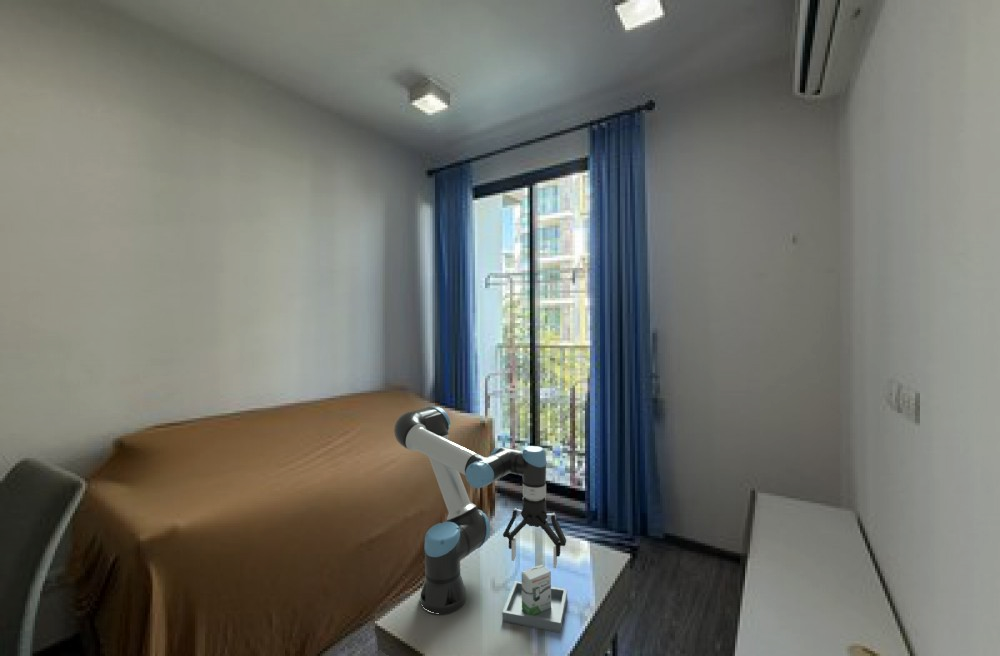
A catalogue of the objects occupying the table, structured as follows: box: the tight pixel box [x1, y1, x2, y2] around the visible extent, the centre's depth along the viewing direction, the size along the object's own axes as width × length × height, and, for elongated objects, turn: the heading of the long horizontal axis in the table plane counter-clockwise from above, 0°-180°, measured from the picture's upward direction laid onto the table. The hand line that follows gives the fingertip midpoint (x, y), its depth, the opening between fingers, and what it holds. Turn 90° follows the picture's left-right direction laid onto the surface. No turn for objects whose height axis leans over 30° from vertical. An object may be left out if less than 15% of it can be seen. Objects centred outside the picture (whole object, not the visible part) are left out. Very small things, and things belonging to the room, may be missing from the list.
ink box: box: [521, 564, 552, 615], centre depth 131 cm, size 9×5×12 cm, turn 121°
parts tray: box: [501, 580, 568, 634], centre depth 131 cm, size 18×16×3 cm
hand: (534, 562), depth 131 cm, fingers open, 13 cm apart
